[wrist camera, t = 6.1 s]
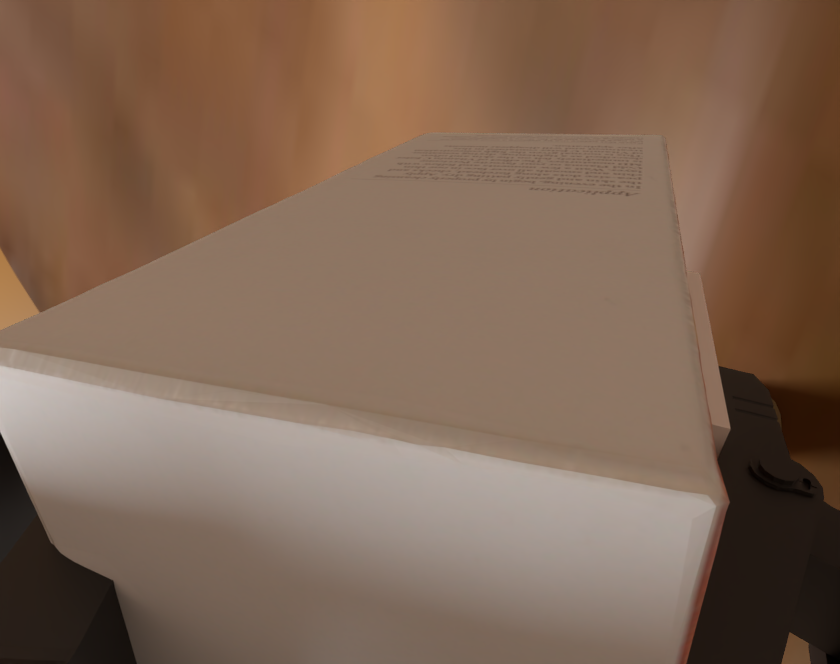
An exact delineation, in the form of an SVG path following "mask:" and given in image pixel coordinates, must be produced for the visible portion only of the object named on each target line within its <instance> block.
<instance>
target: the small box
mask: <svg viewBox="0 0 840 664" xmlns="http://www.w3.org/2000/svg"><path fill="white" fill-rule="evenodd" d="M0 433H1V435H2V437H3V439H4V441H5V444H6V446H7V448H8V450H9V452H10V454H11V457H12V459H13V461H14V463H15V465H16V468H17V470H18V472H19V474H20V476H21V479H22V481H23V483H24V485H25V488H26V490H27V492H28V494H29V496H30V499H31V501H32V503H33V505H34V507H35V509H36V511H37V513H38V516H39V518H40V520H41V522H42V524H43V526H44V529H45V531H46V533H47V535H48V537H49V540H50V542H51V543H52V544H54V545H55V547H56V548H57V549H58V551H59V552H60V553H61V554H63V555H64V556H66V557H67V558H69V559H70V560H72V561H74V562H76V563H78V564H80V565H82V566H84V567H86V568H88V569H90V570H92V571H94V572H96V573H99V574H101V575H103V576H105V577H107V578H109V579H111V580H113V581H114V586H115V590H116V594H117V597H118V601H119V604H120V607H121V611H122V614H123V618H124V621H125V624H126V628H127V631H128V634H129V638H130V642H131V645H132V648H133V652H134V655H135V659H136V662H137V664H686V663H687V659H688V656H689V652H690V648H691V644H692V640H693V637H694V633H695V629H696V625H697V621H698V618H699V614H700V610H701V607H702V603H703V599H704V595H705V592H706V588H707V584H708V580H709V577H710V573H711V569H712V566H713V562H714V558H715V554H716V551H717V547H718V543H719V539H720V535H721V531H722V527H723V523H724V519H725V514H726V511H727V508H728V506H729V503H730V501H729V498H728V495H727V491H726V488H725V485H724V481H723V478H722V475H721V471H720V468H719V465H718V461H717V455H716V448H715V442H714V435H713V428H712V422H711V415H710V411H709V406H708V401H707V395H706V388H705V382H704V378H703V373H702V366H701V357H700V350H699V344H698V337H697V331H696V325H695V319H694V314H693V307H692V300H691V295H690V290H689V285H688V281H687V272H686V265H685V259H684V251H683V246H682V241H681V234H680V228H679V221H678V215H677V209H676V202H675V196H674V192H673V183H672V178H671V171H670V166H669V156H668V151H667V144H666V138H665V137H664V136H662V135H595V134H507V133H427V134H423V135H421V136H419V137H416V138H414V139H412V140H410V141H408V142H405V143H403V144H401V145H399V146H397V147H394V148H392V149H390V150H388V151H386V152H383V153H381V154H379V155H377V156H375V157H373V158H370V159H368V160H366V161H364V162H362V163H360V164H358V165H356V166H354V167H351V168H349V169H347V170H345V171H343V172H341V173H339V174H337V175H335V176H333V177H331V178H329V179H327V180H325V181H323V182H321V183H319V184H316V185H314V186H312V187H310V188H308V189H306V190H304V191H302V192H300V193H298V194H296V195H293V196H291V197H288V198H286V199H284V200H282V201H280V202H278V203H276V204H274V205H271V206H269V207H267V208H265V209H263V210H260V211H258V212H256V213H254V214H252V215H250V216H247V217H245V218H243V219H241V220H239V221H237V222H235V223H233V224H231V225H228V226H226V227H224V228H222V229H220V230H218V231H216V232H214V233H212V234H210V235H207V236H205V237H203V238H201V239H199V240H197V241H195V242H193V243H191V244H188V245H186V246H184V247H182V248H180V249H178V250H176V251H174V252H171V253H169V254H167V255H165V256H163V257H161V258H159V259H157V260H155V261H153V262H151V263H149V264H147V265H144V266H142V267H140V268H138V269H136V270H134V271H131V272H129V273H127V274H125V275H123V276H120V277H118V278H115V279H113V280H111V281H108V282H106V283H104V284H101V285H99V286H97V287H95V288H93V289H91V290H89V291H87V292H85V293H83V294H81V295H79V296H77V297H75V298H72V299H70V300H68V301H66V302H64V303H61V304H59V305H57V306H55V307H53V308H50V309H48V310H46V311H44V312H41V313H39V314H37V315H34V316H33V317H30V318H28V319H25V320H23V321H21V322H18V323H16V324H14V325H11V326H9V327H7V328H5V329H2V330H0Z"/></svg>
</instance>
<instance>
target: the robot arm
mask: <svg viewBox="0 0 840 664" xmlns="http://www.w3.org/2000/svg"><path fill="white" fill-rule="evenodd" d="M686 272H687V281H688V285H689V290H690V295H691V300H692V307H693V314H694V319H695V325H696V331H697V337H698V344H699V350H700V357H701V366H702V373H703V378H704V382H705V388H706V395H707V401H708V406H709V411H710V415H711V422H712V428H713V435H714V442H715V448H716V455H717V461H718V465H719V468H720V471H721V475H722V478H723V481H724V485H725V488H726V491H727V495H728V498H729V501H730V503H729V506H728V508H727V511H726V514H725V519H724V523H723V527H722V531H721V535H720V539H719V543H718V547H717V551H716V554H715V558H714V562H713V566H712V569H711V573H710V577H709V580H708V584H707V588H706V592H705V595H704V599H703V603H702V607H701V610H700V614H699V618H698V621H697V625H696V629H695V633H694V637H693V640H692V644H691V648H690V652H689V656H688V659H687V663H686V664H781V662H782V658H783V655H784V651H785V647H786V643H787V639H788V635H789V632H791V633H792V634H794V635H796V636H798V637H799V638H801V639H803V640H804V641H806V642H808V643H809V653H810V661H811V664H840V511H839V510H837V509H835V508H833V507H831V506H830V505H828V504H827V503H825V502H824V501H823V500H824V495H823V488H822V486H821V485H820V483H819V482H818V480H817V479H816V478H815V476H814V475H813V474H812V473H810V472H809V471H808V470H807V469H805V468H804V467H803V466H802V465H801V464H799V463H797V462H795V461H793V460H792V459H791V458H790V455H789V452H788V449H787V446H786V443H785V439H784V436H783V433H782V430H781V427H780V424H779V422H777V420H778V418H777V415H776V411H775V409H773V406H774V405H773V402H772V399H771V396H770V393H769V390H768V389H767V388H766V387H765V386H764V385H763V384H762V383H761V382H760V381H759V380H758V379H757V378H756V377H755V375H754V374H750V373H746V372H741V371H737V370H733V369H728V368H724V367H720V366H718V362H717V357H716V352H715V347H714V342H713V337H712V332H711V327H710V322H709V317H708V311H707V306H706V301H705V296H704V291H703V286H702V281H701V276H700V273H696V272H691V271H686ZM0 664H137V662H136V659H135V655H134V652H133V648H132V645H131V642H130V638H129V634H128V631H127V628H126V624H125V621H124V618H123V614H122V611H121V607H120V604H119V601H118V597H117V594H116V590H115V586H114V581H113V580H111V579H109V578H107V577H105V576H103V575H101V574H99V573H96V572H94V571H92V570H90V569H88V568H86V567H84V566H82V565H80V564H78V563H76V562H74V561H72V560H70V559H69V558H67V557H66V556H64V555H63V554H61V553H60V552H59V551H58V549H57V548H56V547H55V545H54V544H52V543H51V542H50V540H49V537H48V535H47V533H46V531H45V529H44V526H43V524H42V522H41V520H40V518H39V516H38V513H37V511H36V509H35V507H34V505H33V503H32V501H31V499H30V496H29V494H28V492H27V490H26V488H25V485H24V483H23V481H22V479H21V476H20V474H19V472H18V470H17V468H16V465H15V463H14V461H13V459H12V457H11V454H10V452H9V450H8V448H7V446H6V444H5V441H4V439H3V437H2V435H1V433H0Z"/></svg>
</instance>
